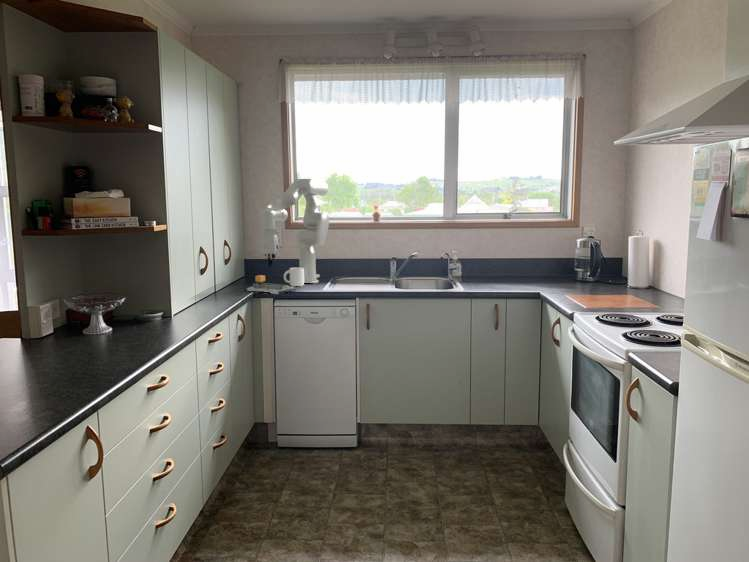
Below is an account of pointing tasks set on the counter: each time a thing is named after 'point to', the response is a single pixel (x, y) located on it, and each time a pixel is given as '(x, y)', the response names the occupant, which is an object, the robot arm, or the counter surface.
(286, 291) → the grey bar
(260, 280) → the orange block
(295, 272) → the mug
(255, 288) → the slider switch board
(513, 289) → the counter surface
